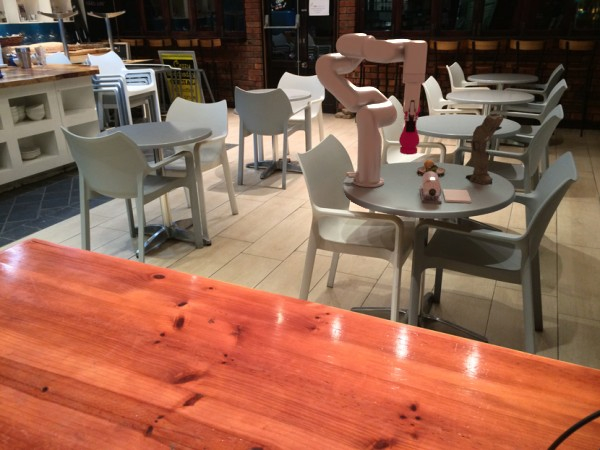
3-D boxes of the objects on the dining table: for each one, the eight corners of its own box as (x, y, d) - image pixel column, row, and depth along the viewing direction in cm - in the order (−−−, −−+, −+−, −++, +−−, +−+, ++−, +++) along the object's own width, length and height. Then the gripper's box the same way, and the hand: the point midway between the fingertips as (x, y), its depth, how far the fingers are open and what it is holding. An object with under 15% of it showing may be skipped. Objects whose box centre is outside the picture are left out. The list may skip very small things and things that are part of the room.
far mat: (445, 201, 180) (445, 199, 179) (442, 191, 191) (442, 189, 190) (470, 202, 178) (471, 200, 178) (466, 192, 189) (467, 190, 189)
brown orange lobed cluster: (445, 178, 206) (447, 161, 203) (416, 176, 209) (418, 159, 206) (444, 170, 217) (446, 153, 214) (417, 169, 220) (418, 152, 217)
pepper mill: (394, 151, 183) (398, 96, 175) (411, 149, 186) (415, 95, 178) (405, 155, 177) (409, 99, 169) (422, 153, 179) (427, 98, 171)
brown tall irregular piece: (457, 173, 208) (477, 109, 191) (470, 171, 210) (490, 107, 193) (478, 189, 198) (501, 123, 181) (491, 187, 201) (515, 121, 184)
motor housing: (421, 202, 179) (423, 183, 176) (419, 188, 194) (421, 170, 191) (441, 203, 178) (443, 184, 175) (438, 189, 193) (439, 171, 190)
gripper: (402, 75, 179) (399, 125, 186) (402, 81, 164) (399, 135, 171) (423, 75, 178) (419, 125, 185) (426, 81, 163) (421, 136, 170)
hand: (410, 129), depth 178 cm, fingers closed on pepper mill, 5 cm apart
